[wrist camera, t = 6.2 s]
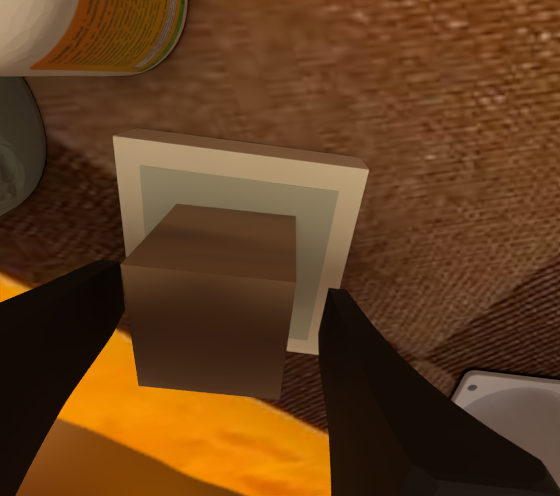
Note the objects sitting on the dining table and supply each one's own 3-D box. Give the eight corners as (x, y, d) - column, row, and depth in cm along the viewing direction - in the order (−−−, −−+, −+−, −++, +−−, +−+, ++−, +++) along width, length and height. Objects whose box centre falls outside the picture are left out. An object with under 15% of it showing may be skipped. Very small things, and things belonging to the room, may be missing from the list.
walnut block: (283, 310, 15) (279, 399, 11) (181, 300, 14) (138, 385, 10) (295, 216, 12) (296, 282, 8) (176, 203, 12) (120, 264, 8)
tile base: (319, 327, 18) (322, 356, 16) (150, 306, 17) (133, 334, 16) (359, 157, 13) (369, 170, 12) (137, 127, 13) (111, 136, 11)
